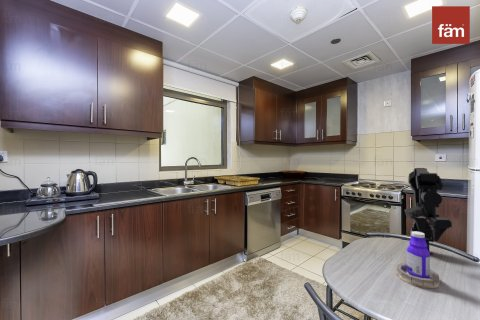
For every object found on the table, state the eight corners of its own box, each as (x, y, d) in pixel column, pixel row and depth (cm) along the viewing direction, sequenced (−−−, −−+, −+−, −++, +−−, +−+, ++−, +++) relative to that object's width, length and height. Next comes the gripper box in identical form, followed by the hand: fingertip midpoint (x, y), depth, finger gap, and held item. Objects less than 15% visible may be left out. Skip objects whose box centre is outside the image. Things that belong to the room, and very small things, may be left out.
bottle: (433, 280, 84) (433, 235, 84) (421, 282, 83) (421, 236, 82) (414, 270, 91) (414, 229, 91) (403, 272, 90) (403, 230, 89)
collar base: (390, 269, 94) (390, 262, 94) (424, 271, 92) (424, 264, 92) (409, 287, 81) (409, 279, 81) (448, 289, 79) (448, 281, 79)
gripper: (395, 197, 106) (396, 229, 106) (421, 206, 88) (422, 244, 88) (421, 197, 104) (421, 230, 105) (453, 206, 86) (453, 245, 86)
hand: (428, 236), depth 96 cm, fingers open, 9 cm apart
